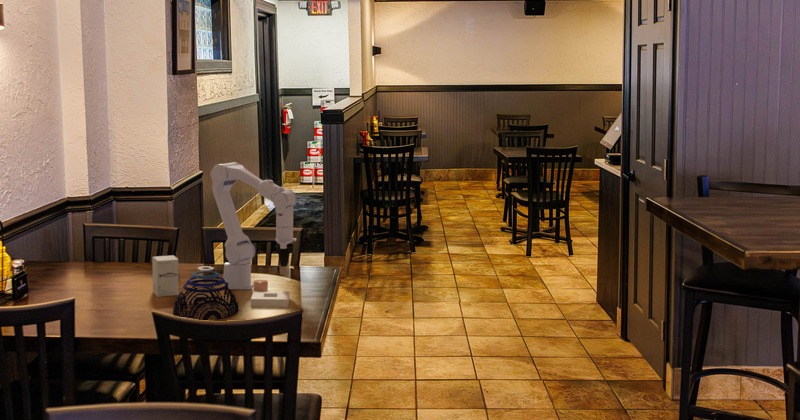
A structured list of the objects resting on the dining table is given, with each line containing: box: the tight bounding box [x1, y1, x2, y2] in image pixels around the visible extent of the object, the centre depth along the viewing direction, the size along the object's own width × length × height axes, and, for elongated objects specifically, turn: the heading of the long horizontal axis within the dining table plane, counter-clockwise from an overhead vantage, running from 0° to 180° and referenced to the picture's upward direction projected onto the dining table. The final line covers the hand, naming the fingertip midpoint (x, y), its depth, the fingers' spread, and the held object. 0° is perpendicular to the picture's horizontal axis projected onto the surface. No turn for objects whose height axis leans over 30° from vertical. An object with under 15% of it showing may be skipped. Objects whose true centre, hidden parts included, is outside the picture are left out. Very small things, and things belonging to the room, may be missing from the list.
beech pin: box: [279, 259, 290, 276], centre depth 295 cm, size 3×3×8 cm
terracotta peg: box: [252, 279, 269, 292], centre depth 294 cm, size 5×5×5 cm
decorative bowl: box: [172, 265, 240, 321], centre depth 273 cm, size 20×20×14 cm
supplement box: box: [151, 254, 180, 298], centre depth 292 cm, size 7×7×13 cm
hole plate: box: [250, 290, 291, 308], centre depth 287 cm, size 12×10×2 cm
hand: (284, 265), depth 295 cm, fingers closed on beech pin, 3 cm apart
